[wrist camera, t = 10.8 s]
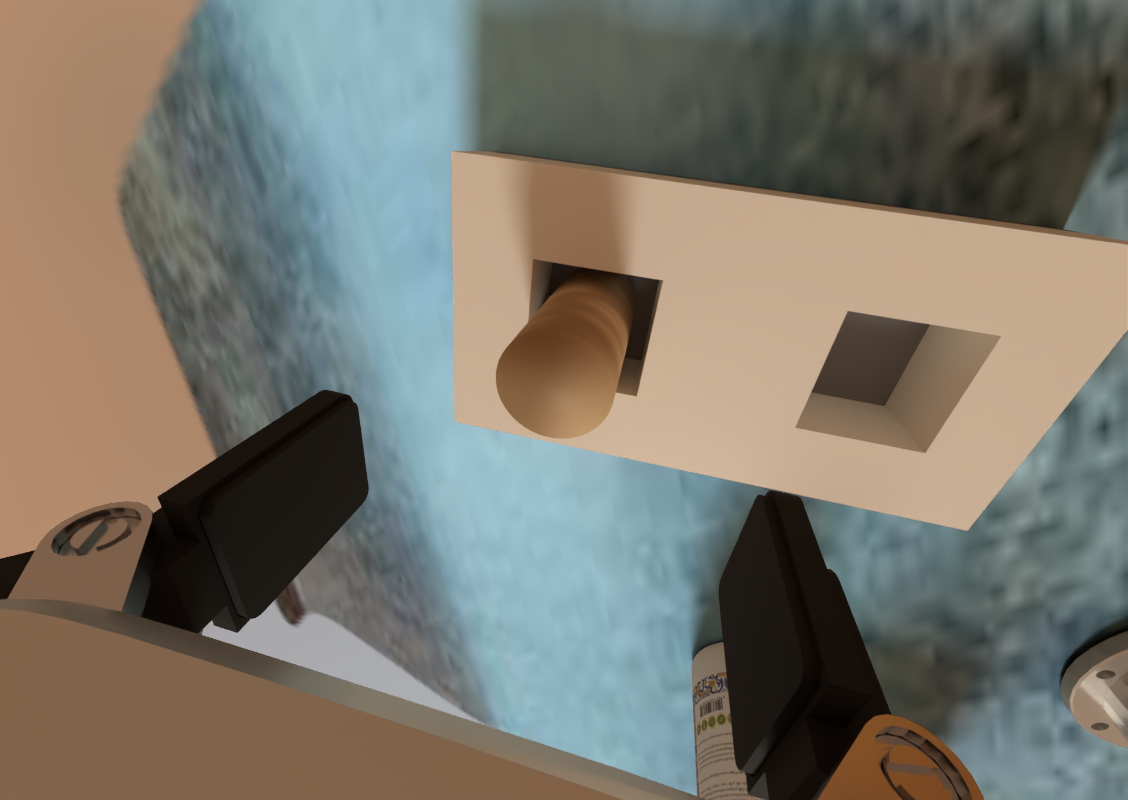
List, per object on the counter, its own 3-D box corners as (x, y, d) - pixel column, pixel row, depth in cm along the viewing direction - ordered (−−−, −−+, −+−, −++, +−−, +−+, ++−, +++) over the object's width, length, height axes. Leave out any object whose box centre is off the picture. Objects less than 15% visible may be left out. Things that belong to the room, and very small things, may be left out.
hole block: (495, 151, 21) (451, 151, 16) (1063, 229, 18) (1188, 252, 14) (488, 378, 27) (454, 421, 22) (913, 463, 24) (967, 530, 20)
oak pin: (645, 274, 21) (627, 346, 13) (625, 350, 23) (600, 450, 15) (563, 257, 21) (501, 316, 14) (551, 333, 24) (491, 422, 16)
